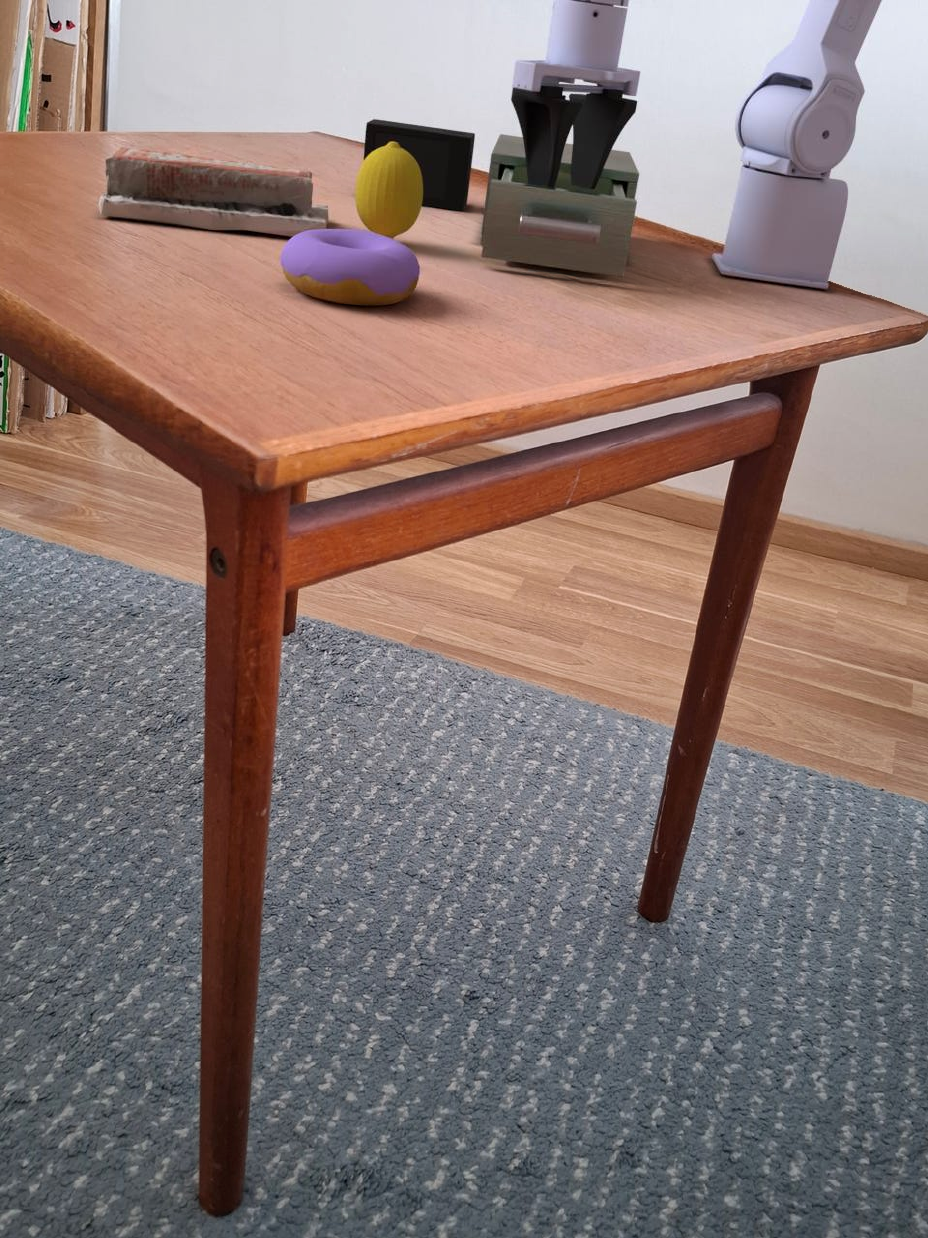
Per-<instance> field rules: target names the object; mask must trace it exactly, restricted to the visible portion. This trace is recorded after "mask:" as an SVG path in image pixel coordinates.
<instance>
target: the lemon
mask: <svg viewBox="0 0 928 1238" xmlns="http://www.w3.org/2000/svg"><path fill="white" fill-rule="evenodd" d="M354 197H355V206H356V211H357V215H358V217H359V219H360V220H361V223H362V224H363V225H364V227H366V229H368V231H370V232H374V233H377V234H380V235H383V236H386V237H389V238H392V239H395V237H397V236H400V235H403V234H404V233H406V232H407V231H409V230H410V229H412V227H413V226H414V224H415V223H416V222H417V220H418V218H419V215H420V213H421V210H422V206H423V205H422V199H423V181H422V175H421V171H420V168H419V165H418V163H417V162H416V160H415V159H414V158H413V156H412V155H411V154H410V153H408V152H407V151H406V150H404V149H402V148H401V147H400V145H399V144H398V143H397V142H389V143H388V144H387V145H386V146H383V147H380V148H378V149H376V150H374V151H373V152H372V153H370V154H369V155H368V156H367V157H366V159H365V160H364V159H363V161H362V163H361V165H360V168H359V170H358V174H357V178H356V182H355V191H354Z"/></svg>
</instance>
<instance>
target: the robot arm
mask: <svg viewBox="0 0 928 1238" xmlns="http://www.w3.org/2000/svg"><path fill="white" fill-rule="evenodd" d="M882 1H883V0H809V1H808V3H807V6H806V8H805V11H804V13H803V16H802V18H801V21H800V23H799V26H798V27H797V29H796V30H797V31H796V33H795V35H794V37H793V39H792V41H791V42H790V43H789V44H788V45H787V46H785V47H784V48H783V49H781V50H780V51H779V52H777V54H775V55H774V56H773V57H772V58H770V59H769V61H767V63H766V65H765V67H764V70H763V72H762V74H761V77H760V78H759V80H758V81H757V83H756V84H755V85H754V87H753V88H751V90H750V91H748V93H747V94H746V95H745V97H743V99H742V101H741V102H740V104H739V106H738V108H737V111H736V116H735V121H734V131H735V137H736V140H737V141H738V142H737V143H738V144H739V146H740V147H741V148H742V153H741V157H740V161H741V162H742V164H743V165H741V169H740V173H739V178H738V182H737V186H736V192H735V196H734V200H733V205H732V209H731V215H730V218H729V223H728V228H727V233H726V238H725V242H724V246H723V251H722V253H715V252H714V253H712V255H711V258H712V261H713V262H714V264H715V265H716V267H717V270H718V271H719V273H720V274H721V275H724V276H730V277H736V278H743V279H751V280H758V281H765V282H771V283H772V282H773V283H779V284H788V285H793V286H801V287H808V288H814V289H821V290H828V289H829V286H830V284H829V279H830V274H831V272H832V267H833V263H834V260H835V255H836V253H837V252H836V251H837V248H838V244H839V241H840V236H841V232H842V228H843V225H844V221H845V218H846V214H847V206H848V198H849V186H848V184H847V182H846V181H844V180H843V179H838V178H830V176H831V173H832V169H835V168H836V167H837V166H838V165H839V164H840V163H841V162H842V161H844V158H845V157H846V156H847V155H848V153H849V151H850V149H851V147H852V145H853V142H854V139H855V135H856V130H857V129H856V128H857V127H856V126H857V114H858V110H859V108H860V104H861V102H862V100H863V97H864V95H865V92H866V91H865V86H864V83H863V81H862V79H861V75H860V73H859V71H858V68H857V65H856V60H857V59H858V56H859V54H860V51H861V49H862V47H863V45H864V42H865V40H866V38H867V35H868V34H869V31H870V30H871V29H870V28H871V26H872V24H873V22H874V19H875V18H876V15H877V12H878V10H879V8H880V5H881V3H882ZM552 2H553V4H552V9H551V16H550V25H549V31H548V37H547V46H546V53H545V59H541V60H540V59H539V60H537V59H535V60H534V59H533V60H526V59H525V60H524V59H523V60H522V59H515V63H514V68H513V77H512V86H511V87H512V91H511V96H510V97H511V98H510V101H511V104H512V105H513V106H512V107H513V108H514V111H515V113H516V116H517V119H518V123H519V128H520V130H521V137H523V141H524V149H525V158H526V169H527V180H528V184H531V185H538V186H545V187H552V188H554V186H555V184H556V181H557V177H558V173H559V169H560V164H561V160H562V155H563V151H564V147H565V144H566V143H567V141H568V137H569V135H570V132H571V130H572V144H573V150H572V160H571V185H575V186H579V187H583V188H587V189H595V187H596V185H597V183H598V181H599V178H600V176H601V173H602V171H603V168H604V166H605V163H606V161H607V159H608V156H609V154H610V152H611V150H613V147H614V145H615V143H616V142H617V140H618V138H619V136H620V134H622V131H623V130H624V128H625V127H626V125H627V124H628V122H629V121H630V120H631V119H632V117H633V116H634V115H635V114H636V111H637V106H638V101H637V100H635V99H631V98H625V97H623V96H628V97H636V96H637V95H638V88H639V83H640V82H639V81H640V77H641V70H635V69H630V68H625V67H619V62H620V56H621V51H622V43H623V38H624V32H625V26H626V21H627V15H628V7H629V2H630V0H553V1H552ZM576 80H582V81H583V82H584V83H589V84H575V82H576ZM590 84H595V85H590ZM565 92H566V93H569V95H568V99H567V95H565V94H564V93H565Z"/></svg>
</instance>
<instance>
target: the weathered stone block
mask: <svg viewBox="0 0 928 1238" xmlns="http://www.w3.org/2000/svg"><path fill="white" fill-rule="evenodd" d="M104 161H105V169H104V173H105V178H106V186H105V192H104V194H103V195H102V194H101V195H100V197H99V201H98V205H97V207H98V210H99V214H100V216H103V217H109V218H110V217H111V218H116V219H125V220H133V221H140V222H147V223H148V222H149V223H156V224H163V225H164V224H165V225H173V226H180V227H188V228H197V229H203V230H211V231H250V232H257V233H263V234H269V235H275V236H276V235H277V236H283V237H289V238H292V237H293V236H294V235H296V234H298V233H301V232H304V231H308V230H319V229H328V228H327V225H328V222H329V205H323V204H317V205H313V192H314V183H313V181H312V180H313V172H312V171H311V170H305V169H290V168H280V167H275V166H269V165H265V164H264V165H263V164H256V163H250V162H248V161H244V162H242V161H234V160H225V159H214V158H209V157H202V156H193V155H188V154H181V153H173V152H172V153H171V152H164V151H157V150H150V149H149V150H148V149H142V148H140V149H139V148H133V147H126V146H121V147H119V149H117V150H115V151H114V152H113V153H112V154H111V155H109V156H108V157H107V158H106V159H104Z"/></svg>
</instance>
